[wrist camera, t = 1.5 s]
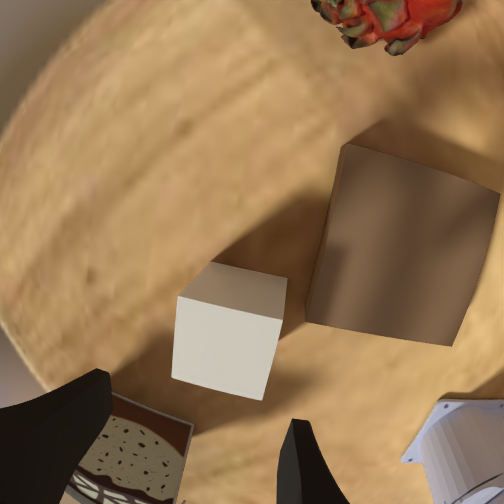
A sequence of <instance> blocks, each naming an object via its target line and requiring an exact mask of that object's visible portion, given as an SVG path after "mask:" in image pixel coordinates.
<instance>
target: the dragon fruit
mask: <svg viewBox="0 0 504 504" xmlns="http://www.w3.org/2000/svg"><path fill="white" fill-rule="evenodd" d="M311 4H312V7H313V9H314V10H315V11H316V12H319V13H320V15H321V17H322V18H323V19H324V20H325V21H327V22H328V23H330V24H333V25H337V24H340V23H343V28H341V27H338V26H337V27H336V28H338V30H340V31H339V32H342V33H343V34H344V35H343V36H341V38H342V39H343V40H344V42H345V43H346V44H348V45H349V46H350V47H351V48H352V49H356V48H361V47H367V46H370V45H373V44H375V43H376V42H377V41H378V40H379V39H380V38H383V39H384V40H385V41H386V42H387V43H388V45H386V46H385V48H384V49H385V51H387V52H388V53H389V54H390V55H392V56H397V55H400V54H401V55H403V54H404V53H405V52H406V51H407V50H409V49H410V48H411V47H412V46H413V45H414V44H416V43H417V42H418V40H419V39H424V38H425V36H426V34H427V33H428V32H429V31H431V30H432V29H434V28H435V27H437V26H440V25H442V24H444V23H446V22H448V21H450V20H451V19H452V18H453V17H454V16H455V15H456V14H457V13H458V12H459V11H460V10H461V7H462V1H461V0H311Z"/></svg>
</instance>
